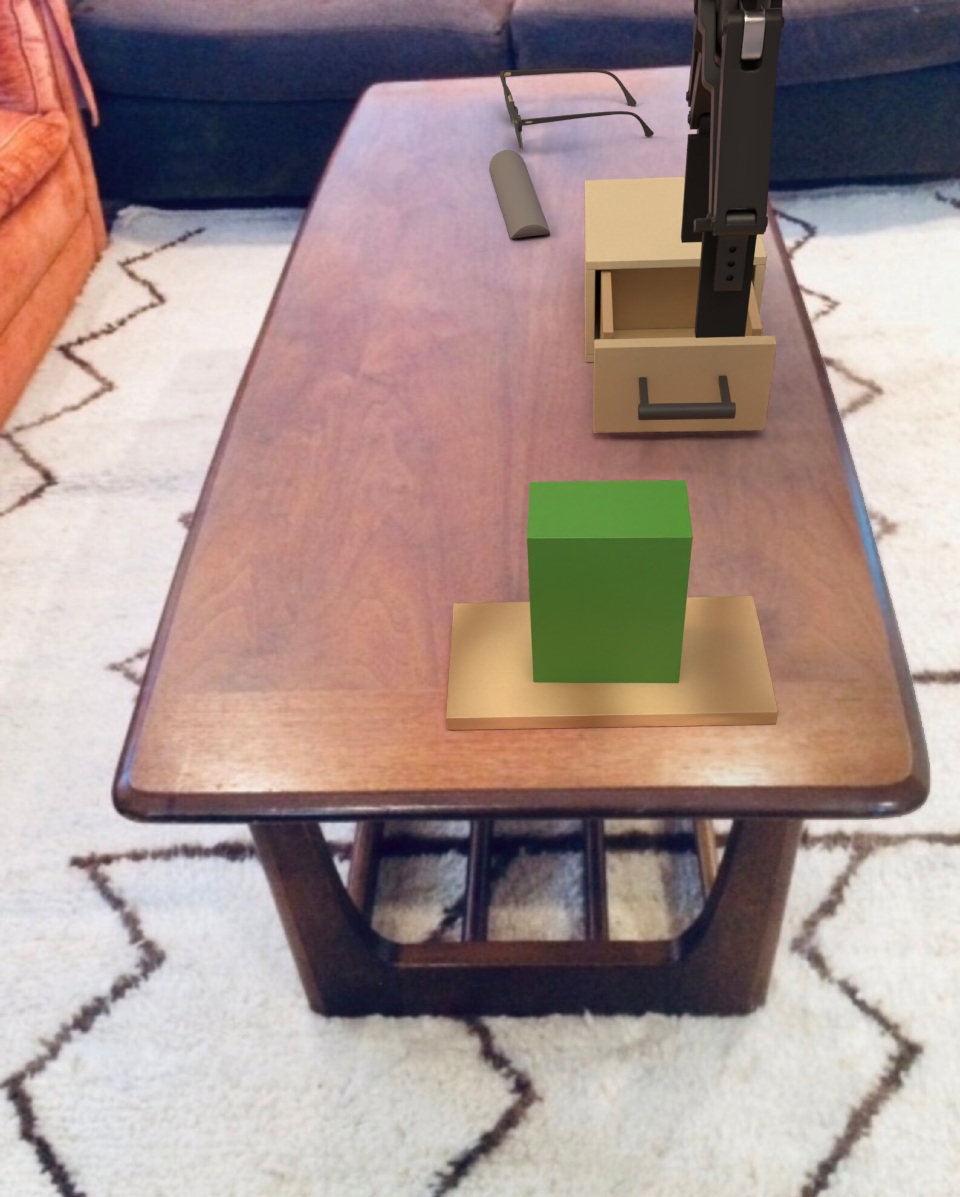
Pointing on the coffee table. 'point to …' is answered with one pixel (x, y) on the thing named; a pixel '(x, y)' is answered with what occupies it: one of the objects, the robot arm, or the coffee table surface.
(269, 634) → the coffee table surface
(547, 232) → the half round rod
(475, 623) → the board
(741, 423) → the drawer
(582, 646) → the tall green block
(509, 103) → the sunglasses
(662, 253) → the cabinet
